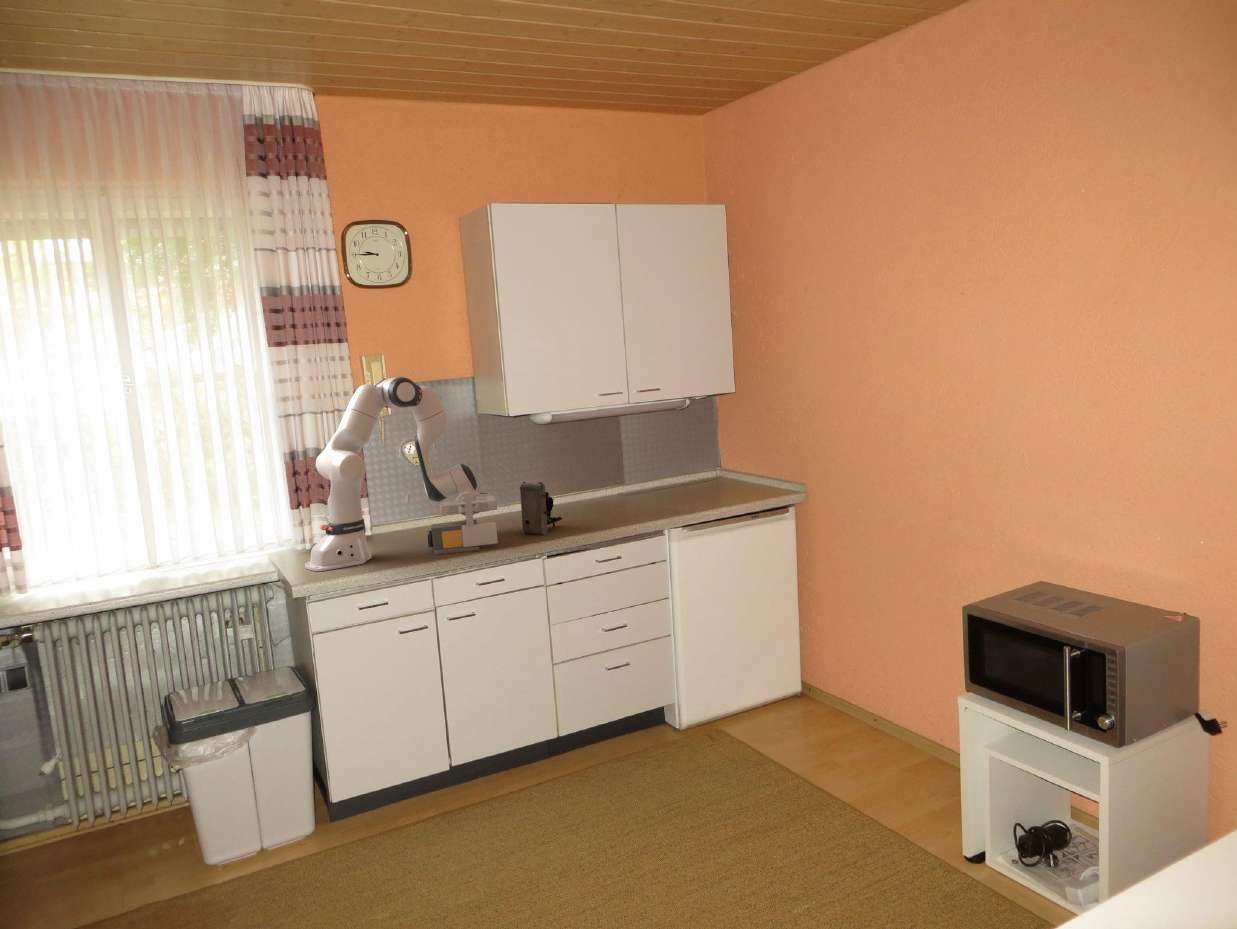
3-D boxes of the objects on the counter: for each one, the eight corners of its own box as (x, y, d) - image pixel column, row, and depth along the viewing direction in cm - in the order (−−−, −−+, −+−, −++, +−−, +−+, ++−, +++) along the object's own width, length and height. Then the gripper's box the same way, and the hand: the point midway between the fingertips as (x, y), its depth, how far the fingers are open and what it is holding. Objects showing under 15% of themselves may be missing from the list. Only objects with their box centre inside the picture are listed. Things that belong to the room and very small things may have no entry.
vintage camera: (566, 528, 347) (562, 477, 345) (543, 535, 334) (539, 482, 332) (545, 527, 352) (542, 477, 350) (522, 535, 339) (518, 482, 337)
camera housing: (429, 555, 316) (426, 527, 314) (429, 549, 325) (426, 522, 324) (479, 549, 319) (477, 522, 317) (478, 543, 328) (476, 517, 327)
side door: (463, 547, 317) (458, 494, 315) (463, 546, 319) (458, 493, 316) (497, 543, 319) (493, 491, 317) (497, 542, 321) (492, 490, 319)
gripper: (438, 497, 328) (438, 504, 314) (494, 492, 331) (496, 498, 318) (440, 514, 328) (439, 522, 315) (496, 509, 332) (498, 516, 319)
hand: (468, 510), depth 316 cm, fingers closed on side door, 2 cm apart
